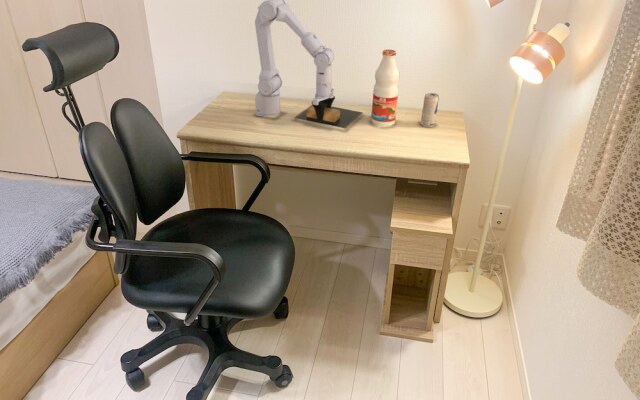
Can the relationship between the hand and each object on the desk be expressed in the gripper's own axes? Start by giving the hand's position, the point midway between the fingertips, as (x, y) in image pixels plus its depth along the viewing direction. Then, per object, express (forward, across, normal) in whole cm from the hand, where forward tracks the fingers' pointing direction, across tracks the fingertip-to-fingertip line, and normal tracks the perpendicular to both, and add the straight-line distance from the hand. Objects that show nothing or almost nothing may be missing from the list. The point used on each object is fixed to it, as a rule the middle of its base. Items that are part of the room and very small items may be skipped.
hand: (323, 116), depth 186 cm
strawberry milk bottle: (+3, +11, -21) cm, 24 cm away
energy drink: (+3, +18, -37) cm, 41 cm away
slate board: (+2, +6, 0) cm, 6 cm away
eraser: (+1, 0, 0) cm, 1 cm away
